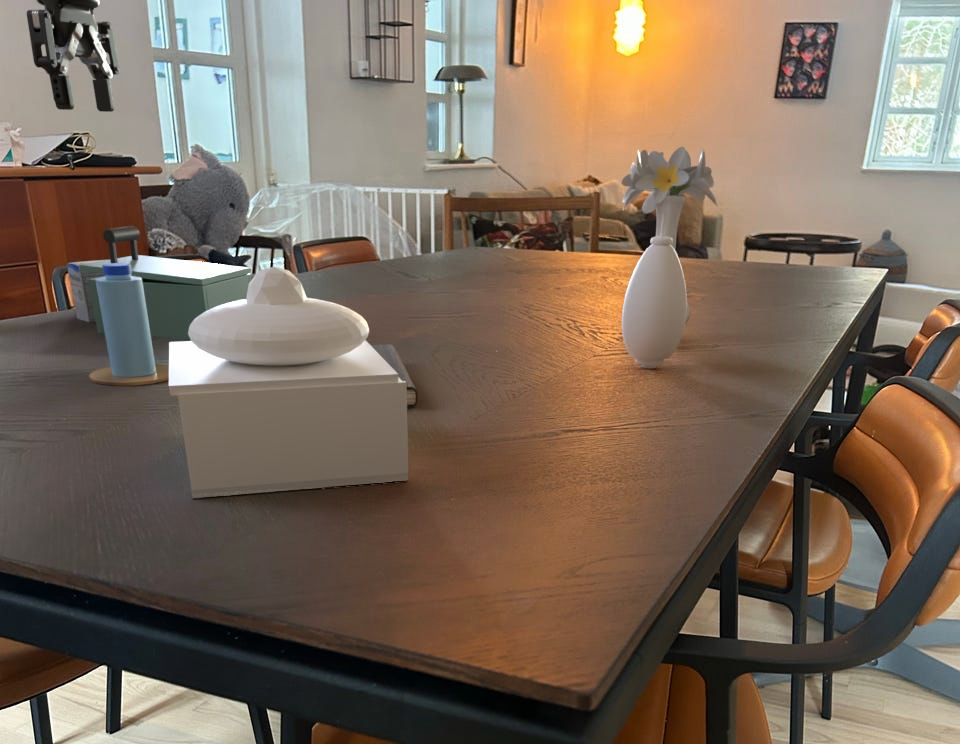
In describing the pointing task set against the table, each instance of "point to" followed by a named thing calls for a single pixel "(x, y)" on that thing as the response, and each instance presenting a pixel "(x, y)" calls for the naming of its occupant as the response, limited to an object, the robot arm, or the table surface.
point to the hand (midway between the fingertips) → (86, 110)
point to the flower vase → (668, 187)
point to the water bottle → (125, 321)
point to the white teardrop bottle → (655, 304)
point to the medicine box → (82, 290)
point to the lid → (162, 263)
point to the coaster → (108, 378)
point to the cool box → (179, 303)
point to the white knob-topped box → (286, 394)
